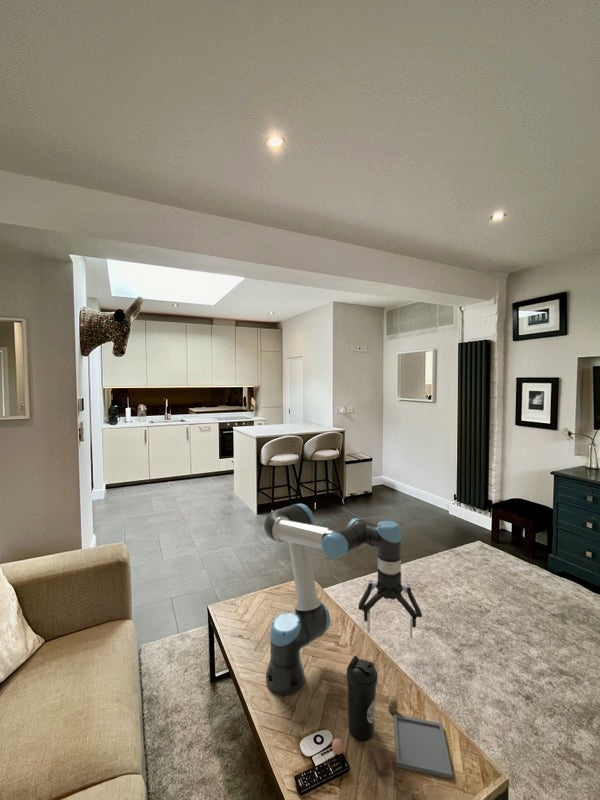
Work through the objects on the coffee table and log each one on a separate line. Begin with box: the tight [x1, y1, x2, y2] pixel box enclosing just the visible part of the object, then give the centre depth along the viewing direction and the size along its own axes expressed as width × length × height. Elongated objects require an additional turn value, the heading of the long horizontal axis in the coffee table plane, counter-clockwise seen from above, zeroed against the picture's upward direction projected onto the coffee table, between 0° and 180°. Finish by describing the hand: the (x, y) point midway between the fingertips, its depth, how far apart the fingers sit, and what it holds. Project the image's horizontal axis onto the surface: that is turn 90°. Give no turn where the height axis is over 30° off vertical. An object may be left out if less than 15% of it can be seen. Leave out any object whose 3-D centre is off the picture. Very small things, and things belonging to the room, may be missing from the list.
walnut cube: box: [374, 748, 393, 778], centre depth 105 cm, size 4×4×4 cm
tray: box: [392, 714, 454, 780], centre depth 112 cm, size 16×16×1 cm
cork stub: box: [388, 695, 399, 716], centre depth 124 cm, size 3×3×4 cm
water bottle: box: [346, 655, 378, 743], centre depth 117 cm, size 10×10×23 cm
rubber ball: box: [331, 737, 344, 755], centre depth 110 cm, size 4×4×4 cm
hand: (389, 632), depth 116 cm, fingers open, 13 cm apart
